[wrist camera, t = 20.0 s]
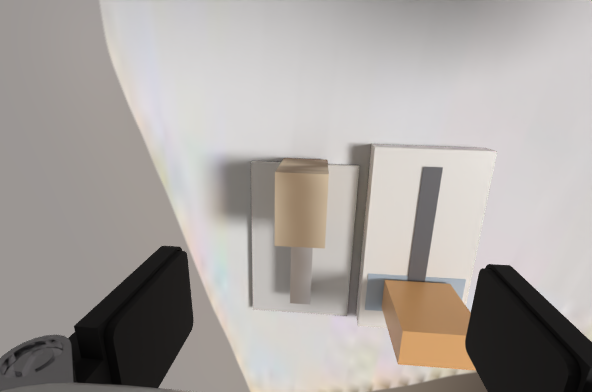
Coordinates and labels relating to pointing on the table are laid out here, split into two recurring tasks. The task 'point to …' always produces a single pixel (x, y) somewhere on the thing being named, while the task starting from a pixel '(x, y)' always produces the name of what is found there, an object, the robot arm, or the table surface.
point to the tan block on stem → (301, 218)
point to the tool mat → (325, 262)
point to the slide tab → (426, 324)
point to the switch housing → (421, 220)
